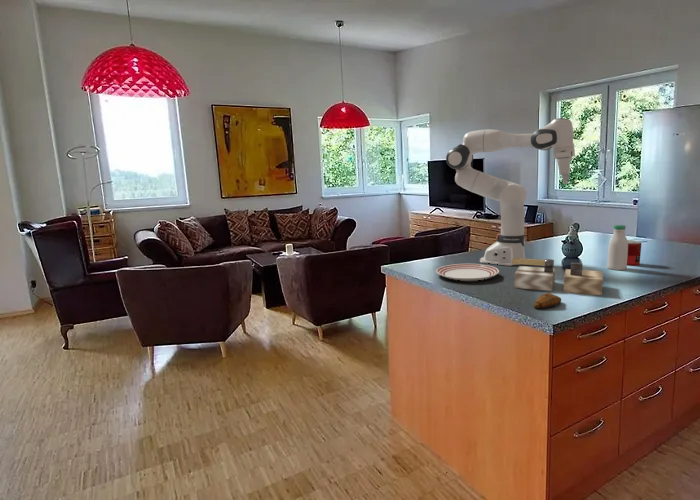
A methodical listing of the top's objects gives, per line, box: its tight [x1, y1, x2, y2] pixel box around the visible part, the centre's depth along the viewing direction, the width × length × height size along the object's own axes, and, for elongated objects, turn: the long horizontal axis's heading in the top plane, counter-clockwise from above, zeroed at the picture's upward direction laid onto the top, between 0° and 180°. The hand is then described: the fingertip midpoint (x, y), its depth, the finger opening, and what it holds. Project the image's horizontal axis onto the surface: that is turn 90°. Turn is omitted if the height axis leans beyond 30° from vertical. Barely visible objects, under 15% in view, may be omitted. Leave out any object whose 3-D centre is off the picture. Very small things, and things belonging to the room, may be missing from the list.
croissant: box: [533, 292, 562, 310], centre depth 159 cm, size 14×7×5 cm, turn 121°
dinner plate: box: [435, 263, 500, 282], centre depth 204 cm, size 27×27×3 cm
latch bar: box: [512, 258, 555, 268], centre depth 184 cm, size 16×4×2 cm, turn 63°
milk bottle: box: [606, 224, 628, 271], centre depth 206 cm, size 8×8×20 cm
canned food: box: [627, 239, 642, 267], centre depth 215 cm, size 8×8×11 cm
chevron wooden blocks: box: [513, 262, 604, 296], centre depth 181 cm, size 31×14×11 cm, turn 63°
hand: (565, 183), depth 211 cm, fingers open, 8 cm apart
